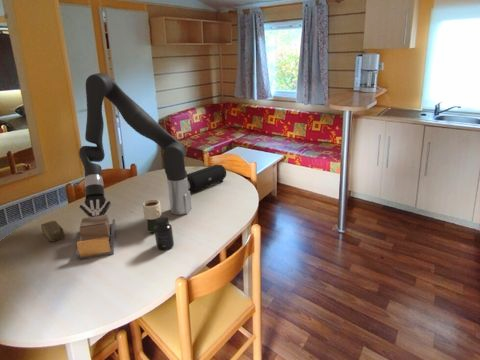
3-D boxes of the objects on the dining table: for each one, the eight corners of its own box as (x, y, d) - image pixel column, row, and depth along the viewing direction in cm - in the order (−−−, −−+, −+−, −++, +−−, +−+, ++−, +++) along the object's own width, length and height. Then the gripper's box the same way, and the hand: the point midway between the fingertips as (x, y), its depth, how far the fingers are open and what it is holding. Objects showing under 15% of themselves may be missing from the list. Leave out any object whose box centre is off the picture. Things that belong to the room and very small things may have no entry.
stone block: (51, 243, 142) (48, 232, 140) (42, 233, 149) (39, 223, 147) (66, 237, 145) (63, 227, 144) (56, 228, 153) (53, 218, 151)
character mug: (169, 230, 148) (166, 203, 143) (155, 237, 144) (151, 209, 139) (154, 222, 155) (151, 196, 150) (140, 228, 151) (136, 202, 146)
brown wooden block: (84, 231, 143) (81, 217, 140) (110, 227, 145) (107, 214, 143) (82, 241, 136) (79, 227, 133) (109, 237, 138) (106, 223, 136)
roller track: (84, 229, 151) (81, 215, 148) (116, 224, 154) (113, 210, 152) (77, 260, 130) (73, 244, 127) (113, 254, 133) (110, 238, 130)
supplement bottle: (157, 242, 140) (154, 216, 136) (174, 240, 141) (171, 214, 136) (155, 251, 134) (151, 224, 129) (173, 250, 134) (170, 223, 130)
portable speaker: (192, 195, 182) (190, 178, 178) (181, 190, 188) (179, 173, 185) (227, 181, 198) (227, 165, 194) (216, 177, 205) (215, 161, 201)
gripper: (75, 185, 145) (77, 225, 139) (108, 181, 148) (112, 219, 142) (80, 192, 152) (82, 230, 145) (111, 188, 155) (114, 225, 149)
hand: (97, 224), depth 144 cm, fingers closed
